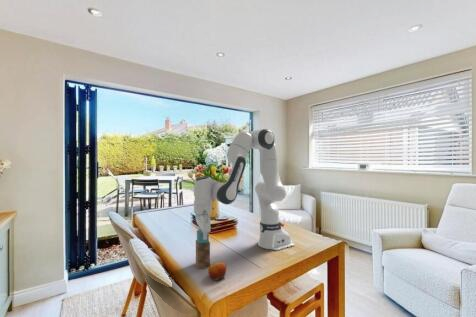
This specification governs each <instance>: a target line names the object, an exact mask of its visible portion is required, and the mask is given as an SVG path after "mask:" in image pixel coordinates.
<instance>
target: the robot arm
mask: <svg viewBox="0 0 476 317" xmlns="http://www.w3.org/2000/svg"><path fill="white" fill-rule="evenodd" d="M251 150H258V151H259V172H260V173H259V174H260V175H261V176H262V181H258V182H257V183H256V185H255V188H254V190H255V193H256V195H257V199H258V204H259V209H260V221H259V239H258V242H257V245H258V247H260V248H261V249H262V248H263V249H266V250H272V251H280V250H284V249H288V248H291V246H292V247H294V246H295V242H294V241H292V239H291V235H290V233H289V232H287V231H286V230H285V229H283V228H284V227H285V223H283V222H280V221H279V217H280V216H279V214H280V212H279V208H278V206H277V203H276V202H281V201H283V200H285V198H286V196H287V190H286V187H285V186H284V185H283V183H282V180H281V177H280V173H279V172H280V171H279V156H278V150H277V145H276V144H275V135H274V132H273V131H272V130H271V129H268V128H264V129H256V130H252V131H243V130H242V131H239V132H238V133H237V134H236V136H235V137H234V138H233V140H232V142H231V143H230V145H229V147H228V149H227V152H226V158H227V160H228V162H229V163H231V164H232V168H231V171H230V173H229V174H228V179H227V181H225V182H221V181H218V180H215V179H213V178H211V176H209V175H203V176H199V177H197V178H196V179H195V180H194V185H193V196H194V200H193V213H194V215H195V216H194V217H195V221H196V224H197V225H198V230H202V232H203V240H206V239H207V234H208V232H209V233H211V230H212V229H211V216H210V213H212V212H213V211H212V210H213V209H212V207H213V206H212V204H213V201H216V202H220V203H222V204H224V205H230V204H232V203H234V202H235V201H236V199H237V195H238V191H239V186H240V183H241V180H242V178H243V174H244V171H245V169H246V165H247V161H246V160H247V157H248V155H249V152H250V151H251ZM282 227H283V228H282ZM287 247H288V248H287Z"/></svg>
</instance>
